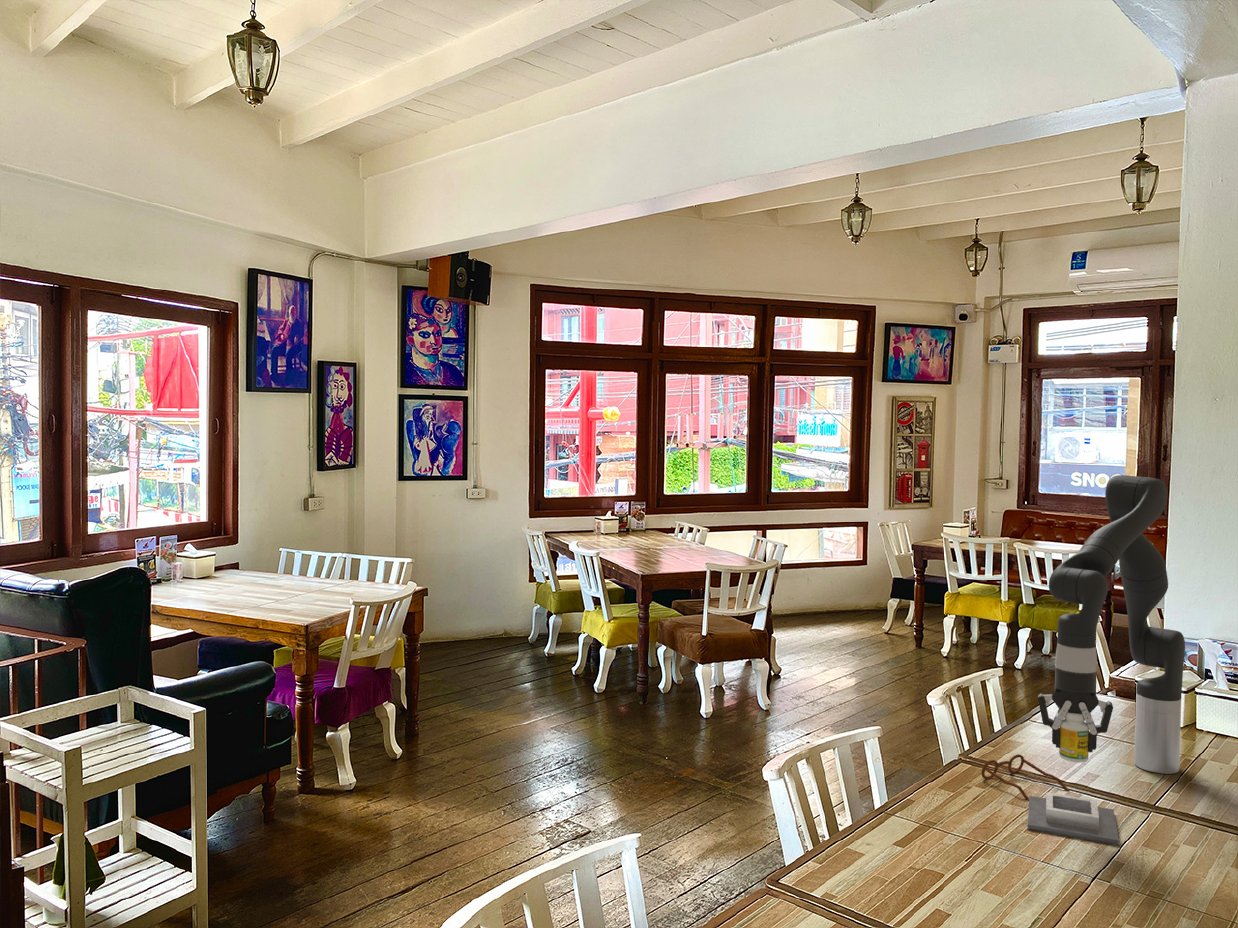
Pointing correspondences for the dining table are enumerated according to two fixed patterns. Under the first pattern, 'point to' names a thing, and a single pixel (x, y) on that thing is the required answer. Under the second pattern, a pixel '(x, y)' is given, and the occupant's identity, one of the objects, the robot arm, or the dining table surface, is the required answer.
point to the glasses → (993, 774)
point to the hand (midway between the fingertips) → (1073, 748)
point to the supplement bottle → (1074, 738)
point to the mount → (1072, 818)
